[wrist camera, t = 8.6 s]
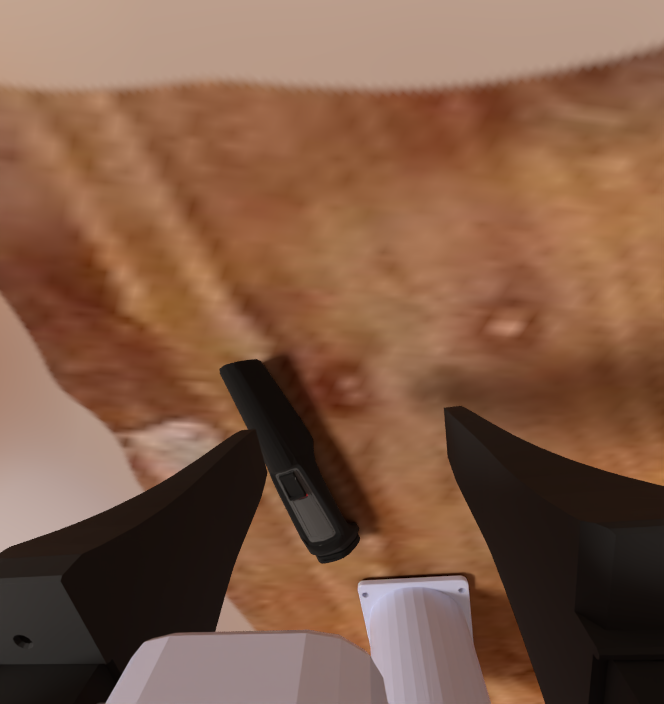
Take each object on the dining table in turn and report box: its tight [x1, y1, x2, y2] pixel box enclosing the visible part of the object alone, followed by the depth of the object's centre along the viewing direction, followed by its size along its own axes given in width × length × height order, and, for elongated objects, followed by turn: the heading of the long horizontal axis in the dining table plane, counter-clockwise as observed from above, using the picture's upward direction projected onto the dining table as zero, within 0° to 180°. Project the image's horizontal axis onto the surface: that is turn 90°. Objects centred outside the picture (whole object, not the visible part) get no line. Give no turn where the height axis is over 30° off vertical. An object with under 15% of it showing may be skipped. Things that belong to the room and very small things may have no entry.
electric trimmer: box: [220, 359, 360, 563], centre depth 20 cm, size 4×16×3 cm, turn 23°
